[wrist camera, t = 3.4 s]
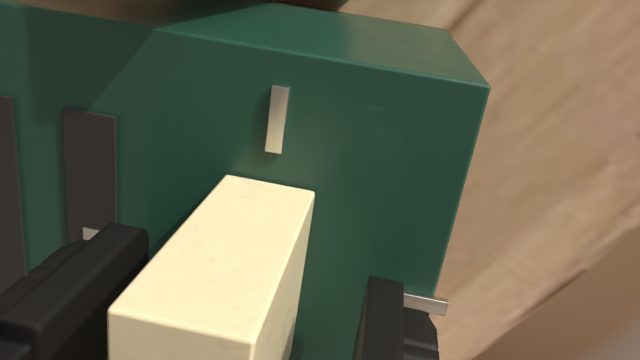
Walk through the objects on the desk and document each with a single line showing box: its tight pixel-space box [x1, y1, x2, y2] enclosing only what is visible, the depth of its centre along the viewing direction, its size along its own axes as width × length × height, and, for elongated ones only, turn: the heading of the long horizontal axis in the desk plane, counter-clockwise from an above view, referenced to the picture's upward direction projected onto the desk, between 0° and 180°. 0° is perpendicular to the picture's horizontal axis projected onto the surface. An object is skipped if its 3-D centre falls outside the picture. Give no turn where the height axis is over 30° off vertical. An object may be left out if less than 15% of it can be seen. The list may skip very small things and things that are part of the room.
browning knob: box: [107, 175, 315, 360], centre depth 10 cm, size 4×2×5 cm, turn 172°
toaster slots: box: [0, 95, 118, 360], centre depth 13 cm, size 9×4×1 cm, turn 172°
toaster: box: [0, 0, 490, 360], centre depth 18 cm, size 12×12×11 cm
